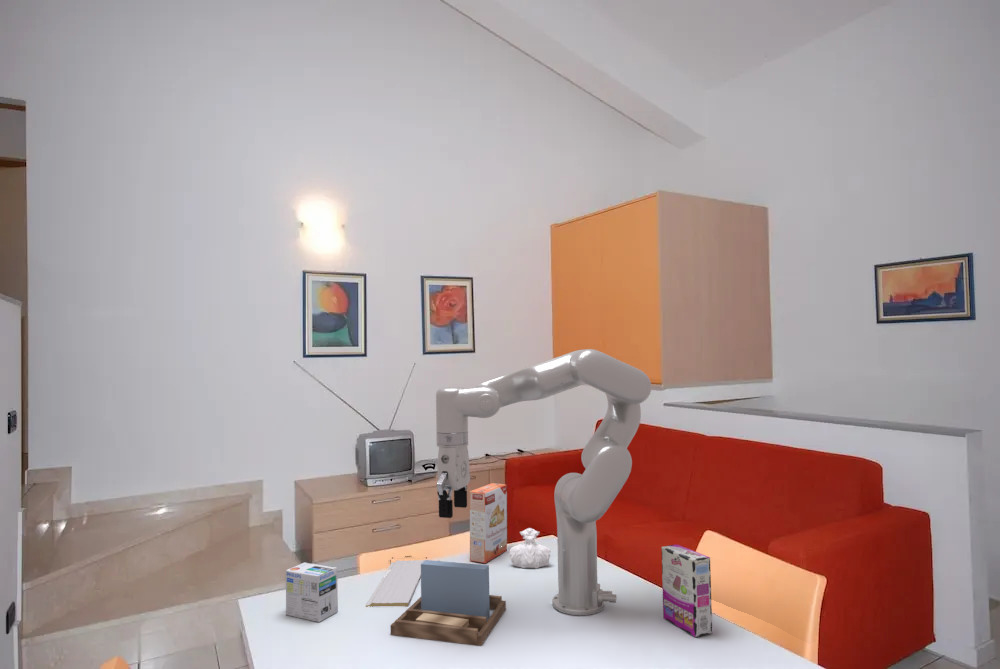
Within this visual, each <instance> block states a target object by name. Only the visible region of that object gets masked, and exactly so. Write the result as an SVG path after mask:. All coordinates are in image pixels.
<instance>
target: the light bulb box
mask: <svg viewBox="0 0 1000 669" xmlns="http://www.w3.org/2000/svg"><path fill="white" fill-rule="evenodd" d="M338 597H339V593H338V567H336V566H329V565H322V564H321V565H320V564H316V563H310V562H302V563H300V564H298V565H295V566H293V567H290V568H288V569H286V570H285V615H286V616H289V617H290V616H291V617H295V618H299V619H303V620H308V621H313V622H317V623H321V622H322V621H324V620H326V619H327V618H330V617H331V616H332V615H334V614H336V613H338V612H339V598H338Z"/></svg>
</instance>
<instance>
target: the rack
mask: <svg viewBox="0 0 1000 669" xmlns="http://www.w3.org/2000/svg"><path fill="white" fill-rule="evenodd" d="M489 601H490V611H491V610H492V611H493V612H492V613H491V614H490V617H489V619H488V620H487V617H483V616H473V615H464V614H455V613H446V612H436V611H427V610H421V596H420V597H419V598H418V599H417V600H415V602H414V603H412V605H410V606H408V608H407V609H406V610H405V611H404V612H403V613H402V614H401V615H400V616H399V617H397V618H396V619H395V620H394V621H393V622H392V624H390V625H389V626H390V629H389V630H390V635H391V636H398V637H407V638H413V639H414V638H415V639H423V640H430V641H437V642H438V641H439V642H448V643H453V644H454V643H457V644H463V645H471V646H482V645H483V644H484V642H485V641H486V639H487V638H488V636H489V635H490V634H491V632H492V631H493V630H494V627H496V625H497V624H498V622H499V620H500V618H501V617H502V616H503V614H504V612H506V610H507V608H506V607H507V604H506V603H507V602H506V600H503V598H502V595H493V594H489ZM423 613H429V614H436V615H442V616H449V617H456V618H462V619H469V625H468V626H467V627H459V626H450V625H441V624H433V623H424V622H416V619H417V618H418V617H419V616H420V615H422V614H423Z"/></svg>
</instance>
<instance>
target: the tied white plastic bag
mask: <svg viewBox="0 0 1000 669" xmlns="http://www.w3.org/2000/svg"><path fill="white" fill-rule="evenodd" d="M519 534H520V535H521V537H522V540H524V542H523V543H519V544H516V545H515V546H512V547H511V548H510V549H509V552H508V553H509V558H510V561H511V564H512V565H513V566H515V567H518V568H522V569H539V568H542V567H546V566H548V564H549V563H550V558H551V549H550V548H549V547H548V546H544V545H543V544H542V543H541V544H540V543H536V541H535V540H537V539H538V536H539V535H540V531H538V530H535V529H534V528H532V527H528V528H526V529H524V530H522V531H519Z"/></svg>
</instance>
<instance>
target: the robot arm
mask: <svg viewBox="0 0 1000 669" xmlns="http://www.w3.org/2000/svg"><path fill="white" fill-rule="evenodd" d="M583 385H588V386H591V387H592V388H594V389H596V390H598V391H600V392H603V393H605V395H606V399H607V410H606V413H605V415H604V416H603V419H602V421H601V422H600V424H599V426H598V427H597V428H596V430H595V431H594V433H593V435H592V436H591V437H590V439H589V440H588V442H587V443H586V445H585V446H584V448H583V450H582V452H581V457H580V458H581V463H582V465H583V467H584V469H585V470H584V471H583V473H582V474H581V473H578V472H569V473H566V474H564V475H563V476H561V477H560V478H559V479H558V481H557V482H556V485H555V487H554V493H553V494H554V496H553V497H554V507H555V514H556V528H557V529H556V532H557V533H556V534H557V535H556V536H557V537H556V538H557V539H556V541H557V542H556V543H557V580H558V581H557V583H558V585H557V587H558V591H557V592H558V593H557V594H555V595H554V596H553V597H552V603H551V604H552V606H553V608H554V609H556V610H557V611H559V612H561V613H564V614H567V615H572V616H573V615H574V616H589V615H594V614H597V613H599V612H601V611H602V610H603V609H604V608H605V603H606V602H607V603H612V604H615V603H617V594H616V593H615V594H614V593H613V591H612V590H603V588H602V589H601V583H599V582H598V551H597V550H598V549H597V548H598V546H597V545H598V543H597V539H598V538H597V537H598V534H597V533H598V532H597V524H596V523H597V521H598V520H600V519H601V518H602V517H603V516H604V515H605V513H606V512H607V511H608V509H610V507H611V505H612V503H613V502H614V500H615V499H616V498H617V496H618V494H619V493H620V492H621V490H622V489H623V486H624V485H625V483H626V482H627V480H628V479H629V476H630V474H631V472H632V466H633V460H632V455H631V453H630V451H629V450H628V447H629V445H630V444H631V442H632V440H633V438H634V437H635V435H636V434H637V432H638V429H639V427H640V423H641V415H642V414H641V412H642V409H641V404H642V403H644V402H645V401H646V400H647V399H648V398H649V396H650V395H651V392H652V382H651V380H650V377H649V376H648V375H647V373H645V372H644V371H643V370H641V369H640V368H637V367H635V366H633V365H631V364H628V363H627V362H624V361H621V360H619V359H617V358H615V357H613V356H611V355H609V354H607V353H605V352H601V351H599V350H597V349H593V348H591V349H590V348H586V349H578V350H575V351H571V352H568V353H565V354H562V355H560V356H556V357H554V358H551V359H547V360H545V361H542V362H539V363H536V364H533V365H530V366H528V367H525V368H522V369H520V370H519V369H518V370H517V371H513V372H512V373H509V374H505V375H503V376H499V377H497V378H496V377H495V378H494V379H490V380H488V381H484V382H481V383H478V384H475V385H474V386H472V387H471V388H464V387H459V386H458V387H457V386H452V387H451V386H450V387H449V386H447V387H441V388H438V389H437V390H436V393H435V405H436V406H435V412H436V413H435V416H436V418H435V419H436V425H435V427H436V429H435V430H436V431H435V432H436V435H435V436H436V447H437V448H438V451H437V453H438V454H437V455H438V456H437V483H436V489H437V499H438V517H439V518H445V519H451V518H453V515H454V514H453V506H454V508H464V509H465V508H467V507H468V491H467V490H468V484H470V483H471V472H470V456H469V450H468V446H469V417H470V418H479V419H488V418H491V417H494V416H495V415H497V413H498V412H499V411H500V409H501V408H504V407H506V406H509V405H512V404H516V403H520V402H527V401H539V400H543V399H546V398H549V397H551V396H555V395H558V394H560V393H563V392H567V391H569V390H572V389H574V388H577V387H580V386H583ZM452 496H453V499H452ZM453 501H454V502H453Z"/></svg>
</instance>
